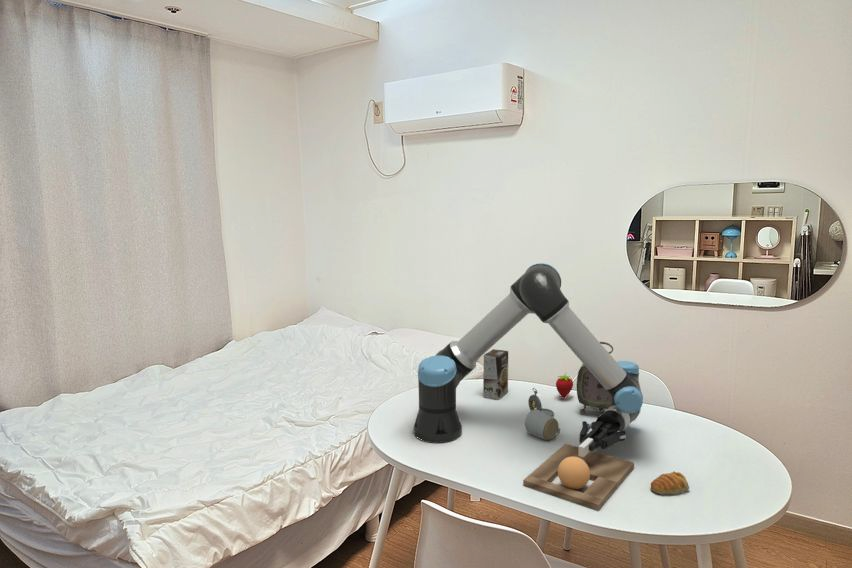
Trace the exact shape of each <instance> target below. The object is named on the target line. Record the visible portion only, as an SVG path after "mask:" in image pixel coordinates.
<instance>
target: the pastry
mask: <svg viewBox="0 0 852 568" xmlns="http://www.w3.org/2000/svg"><path fill="white" fill-rule="evenodd" d="M650 490H651V491H652V492H654V493H656V494H659V495H661V496H663V495H664V496H665V494H666V496H667V495H668V496H669V494H671V496H674V494H675V495H678V494H677V493H679V494H683V493H682V492H684V491H686V492H687V490H688V491H689V490H690V485H689V482H688V480H687V478H686V477H685V475H684V474H683V473H681V472H679V471H677V472H676V471H673V472H671V471H670V472H667V473H662V474H660V475H659V476H656V478H654V479H653V480H652V482H651V483H650ZM684 493H685V492H684Z"/></svg>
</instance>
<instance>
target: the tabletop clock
mask: <svg viewBox="0 0 852 568" xmlns="http://www.w3.org/2000/svg"><path fill="white" fill-rule="evenodd" d="M599 342H600V343H601V345H606V346H609V347H610V349H611V351H608V353H609V354H610V355H611V354H612V353H613V352H614V347H613V345H611V343H608V342H605V341H599ZM576 397H577V400H578V402H579V404H581V405H583V408H581V409H579V413H580V414H582V415H583V414H585V412H586V410H585V409H586V408H587V407H589V408H595V409H597V410H598V412H604V410H607V409H608V408H609V407H610V406H611V404H612V397H611V395H610V394H609V393H608V392H607V390H606V389H605V388H604V387H603V386H602V385H601V383H600V382H599V381H598V380H597V379H596V378H595V377H594V375H593V374H592V373H591V372H590V371H589V370H588V368H587V367H586V366H585V365H584V364H583V363H582V365H581V366H580V368H579V369H578V373H577V377H576Z"/></svg>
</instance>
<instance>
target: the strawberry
mask: <svg viewBox="0 0 852 568" xmlns="http://www.w3.org/2000/svg"><path fill="white" fill-rule="evenodd" d="M555 387H556V390H557V393H558V394H559V395H560V397H561V398H562V399H566V397H568V395H569V394H570V392H571V391H572V389H573V387H574V381H573V380H572V378H571V376H569V375H568V376H567V372H565V374H563V375H560V376H559V375H558V376H557V380H556V382H555Z"/></svg>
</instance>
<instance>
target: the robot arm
mask: <svg viewBox="0 0 852 568" xmlns="http://www.w3.org/2000/svg"><path fill="white" fill-rule="evenodd" d="M561 287H562V278H561V274H560V273H559V271H558V270H557V269H556V268H555V267H554V266H552V265H551V264H549V263H544V262H543V263H542V262H541V263H535V264H532V265H530V266H529V267H528V268H527V269H526V270H525V272H524V273H523V274H522V275H521V276H520V277H519V278H518V279H517V280H516V281H515V282H514V283H512V284H511V285H510V287H509V294H508V295H506V296H505V297H504V298H503V300H502V301H500V302H499V303H498V304H497V305H496V306H495V307H494V308H492V310H490V311H489V313H487V314H486V315H485V316H484V317H483V318H482V319H481V320H480V321H478V323H476V324H475V325H474V326H473V327H472V328H471V329H470V330H469V331H467V333H465V335H463V336H462V337H461V338H460V339H459V340H458V341H457V340H452V341H450V342H449V343H448V344H447V345H446V346H445V347H444V348H443V349H441V350H439V351H437V352H436V354H435V355H432V356H429V357H425V358H424V359H422V360H421V361H420V363H419V364H418V369H417V379H418V382H417V383H418V384H417V385H418V412H417V415H416V416H415V417H416V418H415V420H414V424H413V435H414V434H415V435H414V436H415V437H416V438H417V437H418V438H420V439H422V440H421V441H423V440H424V442H426V441H428V442H427V443H433V442H437V444H440V443H442V444H443V443H449V442H452V441H455V440H458V439H459V438H460V437H461V436H462V433H463V431H462V430H463V428H462V427H463V426H462V423H461V420H460V416H459V414H458V412H457V411H458V410H457V388H458V386H459V384H460V383H461V381H463V379H464V378H465V377H468V375H469V374H470V373H471V372H473V370H474V369H476V368H477V360H479V359H480V358H481V357H482V356H484V355H485V354H486V353H487V352H488V351H489V350H490V349H491V348H492V347H493V346H494V345H495V344H497V343H498V342H499V341H500V340H501V339H502V338H503V337H504V336H506V335H507V334H508V333H509V332H510V331H511V330H512V329H513V328H514V327H516V326H517V324H518V323H521V321H522V320H523V319H524V318H526V317H527V316H528V315H529V314H535V315H536V317H537V318H538V319H539V320H540V321H541V322H542V323H543V324H548V325H549V326H550V327H551V328H552V329H553V331H554V332H556V334H557V335H558V336H559V338H560V339H561V340H562V341H563V342H564V343H565V345H566V346H567V347H568V348H569V349H570V350H571V351H572V352H573V353H574V355H575V356H576V357H577V358H578V359H579V361H580V362H581V363H582V364H584V365H585V366H586V367H587V368H588V370H589V371H590V372H591V373H592V374H593V375H594V377H595V378H596V379H597V380H598V381H599V382H600V383H601V385H602V386H603V387H604V388H605V389H606V390H607V392H608V393H609V394H610V395H611V397H612V404H611V406H610V407H609V408H608V409H604V410H603V411H602V413H601V414H600V415H598V417H597V419H596V420H595V421H592V422H591V423H587V421H585V420H584V421H582V424H581V427H582V428H581V430H580V432H579V446H578V447H579V452H578V456H581V457H585V456H586V455H587V454H588V453H589V452H590V451H594V452H595V451H596V449H598V448H600V449H602V450H607V449H608V448H610V447H612V446H614V445H616V444H618V443H619V442H621V443H622V442H625V441H626V434H627V432H626V431H625V430H626V429H627V428H628V427H629V425H630V424H631V423H632V422H634V421H636V419H637V418H638V417H639V415H640V413H641V408H642V407H643V403H644V401H643V400H644V394H643V393H642V390H641V386H640V381H639V380H640V379H639V377H640V367H639V364H638V363H636V362H633V361H630V360H618V361H617V360H616V359H614V357H613V356H612V355H611V353H610V354H609V353H608V352H609V351H608V350H607V349H606V348H605V347H604V345H603V344H601V343H600V342H601V341H599V340H598V338H596V336H595V335H594V334H593V333H592V332H591V331H590V329H589V328H588V327H587V326H586V325H585V324H584V323H583V321H582V320H581V319H580V318H579V317H578V316H577V314H576V313H575V312H574V311H573V310H572V308H570V301H569V299H567V297H566V296H565V294H564V293H563V292H562V290H561ZM418 438H417V439H418ZM420 439H419V440H420Z"/></svg>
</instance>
